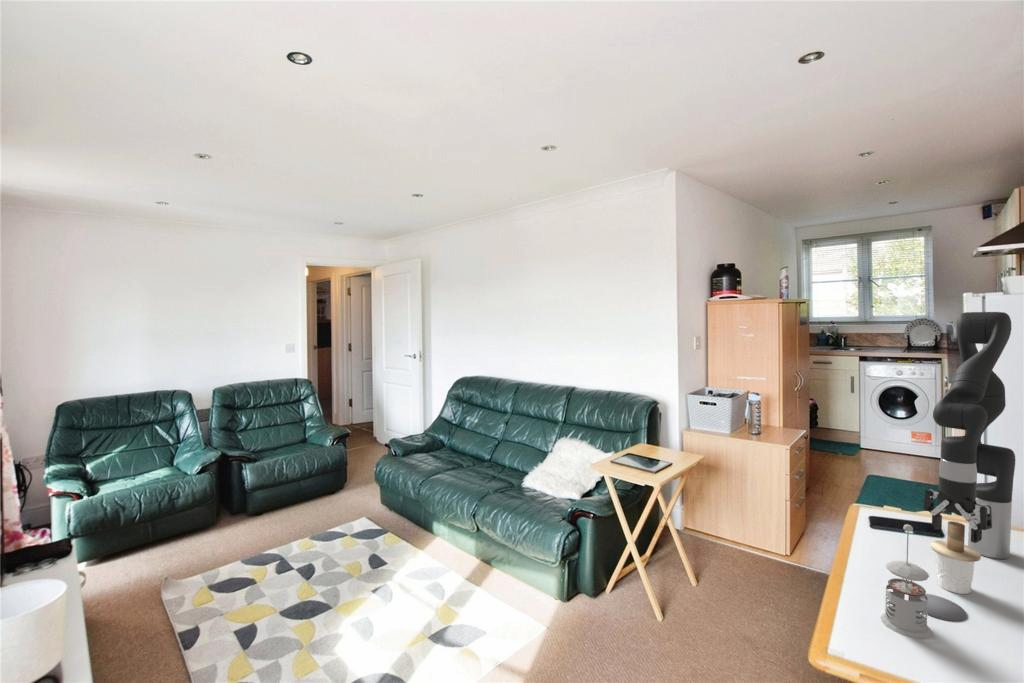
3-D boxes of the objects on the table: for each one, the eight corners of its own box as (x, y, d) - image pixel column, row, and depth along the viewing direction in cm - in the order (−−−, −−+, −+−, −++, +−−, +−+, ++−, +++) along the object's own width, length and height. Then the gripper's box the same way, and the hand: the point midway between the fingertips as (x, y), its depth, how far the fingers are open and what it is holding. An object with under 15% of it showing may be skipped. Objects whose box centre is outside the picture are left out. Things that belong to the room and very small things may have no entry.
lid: (945, 540, 140) (946, 513, 139) (989, 557, 130) (990, 528, 130) (922, 547, 136) (923, 520, 136) (966, 564, 127) (967, 535, 126)
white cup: (981, 597, 129) (982, 560, 129) (946, 594, 131) (948, 558, 130) (960, 580, 137) (961, 545, 136) (928, 578, 139) (929, 543, 138)
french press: (878, 627, 119) (881, 526, 117) (882, 604, 128) (884, 510, 126) (932, 644, 113) (935, 538, 111) (931, 618, 121) (935, 520, 120)
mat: (926, 591, 133) (926, 589, 133) (976, 614, 122) (976, 613, 122) (899, 600, 129) (899, 598, 129) (947, 625, 119) (947, 623, 119)
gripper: (999, 483, 126) (997, 544, 128) (936, 466, 140) (934, 522, 141) (981, 487, 124) (979, 549, 125) (918, 470, 137) (917, 526, 139)
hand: (955, 535), depth 133 cm, fingers open, 8 cm apart
